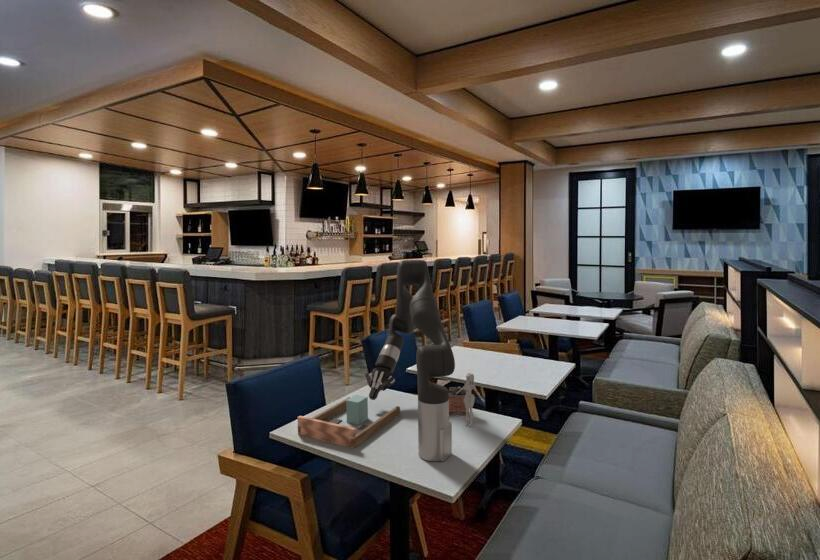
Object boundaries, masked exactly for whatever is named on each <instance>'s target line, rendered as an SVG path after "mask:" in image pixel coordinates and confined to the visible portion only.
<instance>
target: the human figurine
mask: <svg viewBox="0 0 820 560" xmlns="http://www.w3.org/2000/svg"><path fill="white" fill-rule="evenodd" d="M465 377H466V379H465V380H466V383H464V385H463V386H462V387H461V389H460V390H459V391H458V392H457V393H456V394H458V393H459V392H460V391H461V390H463V389H465V390H466V395H465V397H464V404H465V407H466V417H465V418H466V422H465V423H464V426H467V427H468V428H469V427H471V426H473V416H474V413H473V410H472V409H473V407H474V404H475V399H476V397H475V394H472V390H474V392H475V393H476V395H477V396H478V397H479V398H480V401H482V402H483V403H485V401H486V400H485V399H484V397H482V396H481V394H480V392H479V391H478V390H477V388H476V385H475V374H473V373H471V372H470V373H469V372H468V373H467V374H466V376H465ZM456 394H455V395H456ZM469 418H470V422H469Z"/></svg>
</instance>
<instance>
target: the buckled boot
mask: <svg viewBox="0 0 820 560" xmlns="http://www.w3.org/2000/svg"><path fill="white" fill-rule="evenodd" d="M461 388H462V387H461V386H457V387H455V386H454V387H453V386H452V387H449V388H448V391H449V416H456V417H457V416H458V417H461V416H466V407H465V404H464V397H465V395H466V390H465V389H463V390H461V391H460V392H459V393H458V394H456V393H457V392H458V391H459V390H460V389H461ZM455 394H456V395H455Z"/></svg>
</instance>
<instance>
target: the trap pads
mask: <svg viewBox="0 0 820 560" xmlns="http://www.w3.org/2000/svg"><path fill="white" fill-rule="evenodd" d="M326 422H330V423H335V424H339V423H341V422H343V420H342V419H339V418H335V417H331V418H329V419H328V420H326ZM368 426H369V425H368V424H367V425H366V424H362V425H361V426H359V427H358V428H356V434H357V433H359V432H360V431H362V430H363V429H365V428H366V427H368Z"/></svg>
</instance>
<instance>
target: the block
mask: <svg viewBox="0 0 820 560" xmlns="http://www.w3.org/2000/svg"><path fill="white" fill-rule="evenodd" d="M348 398H349V397H348ZM368 398H369V396H365V395H360V394H359V395H358V394H355V395H353V396H351V398H349V399H348V400H346V409H345V410H346V423H350V424H353V425H358V426H359V425H360V424H362V423H364V422H365V421H366V420H368V419H369V405H368V403H369V401H368V400H369V399H368Z"/></svg>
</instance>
